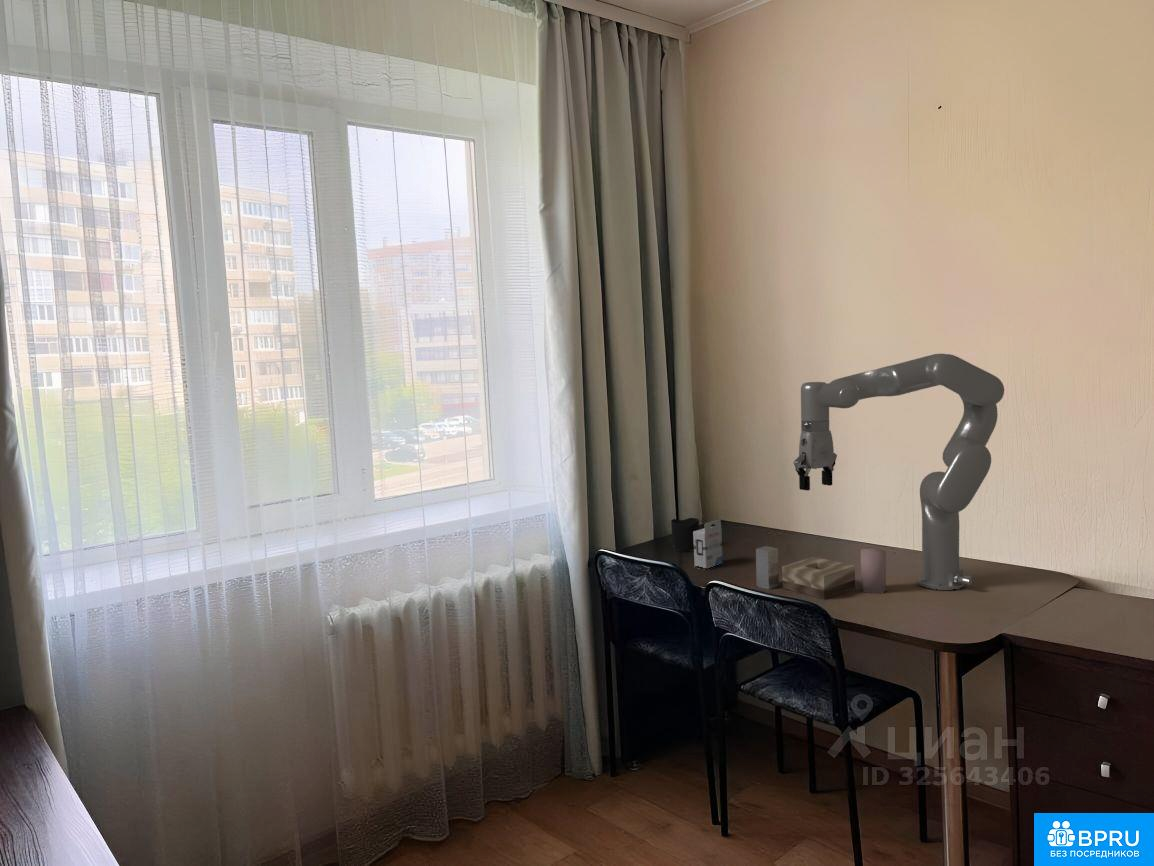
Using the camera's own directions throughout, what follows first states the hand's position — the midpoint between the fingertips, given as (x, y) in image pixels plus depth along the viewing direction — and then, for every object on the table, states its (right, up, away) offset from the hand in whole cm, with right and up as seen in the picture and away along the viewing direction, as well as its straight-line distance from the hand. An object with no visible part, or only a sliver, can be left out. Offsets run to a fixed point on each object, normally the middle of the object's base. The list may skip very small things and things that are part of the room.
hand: (816, 487), depth 237 cm
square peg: (-12, -29, +6) cm, 32 cm away
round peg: (+15, -28, -2) cm, 32 cm away
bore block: (+1, -29, +1) cm, 29 cm away
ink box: (-26, -27, +29) cm, 47 cm away
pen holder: (-30, -25, +51) cm, 64 cm away
